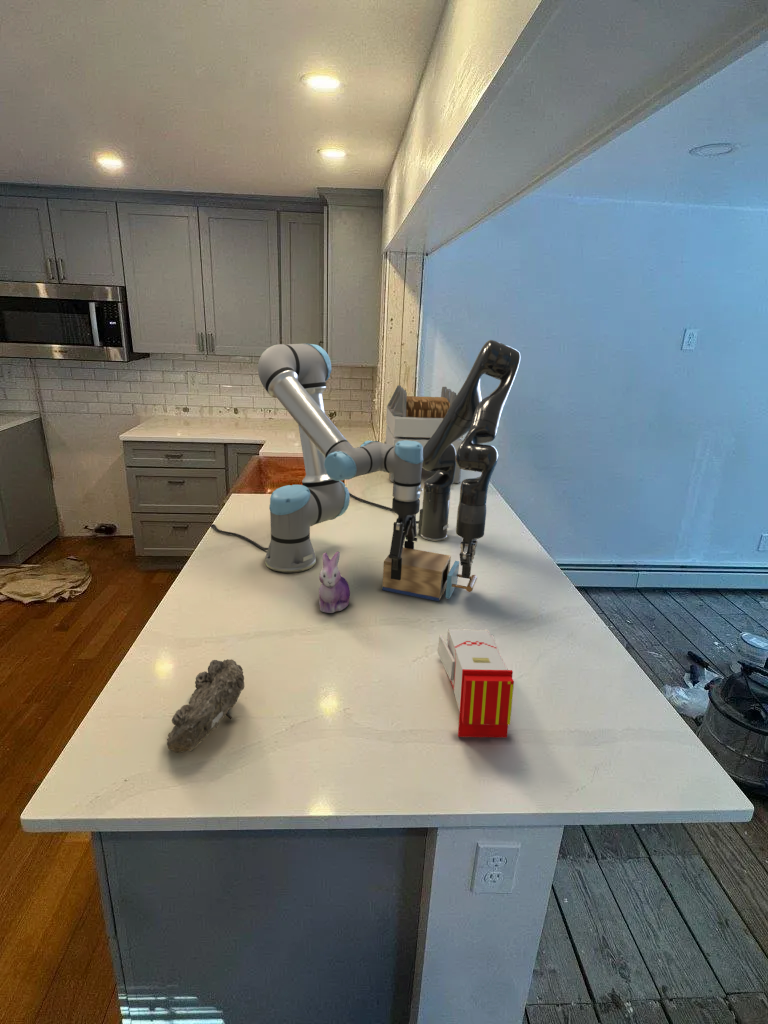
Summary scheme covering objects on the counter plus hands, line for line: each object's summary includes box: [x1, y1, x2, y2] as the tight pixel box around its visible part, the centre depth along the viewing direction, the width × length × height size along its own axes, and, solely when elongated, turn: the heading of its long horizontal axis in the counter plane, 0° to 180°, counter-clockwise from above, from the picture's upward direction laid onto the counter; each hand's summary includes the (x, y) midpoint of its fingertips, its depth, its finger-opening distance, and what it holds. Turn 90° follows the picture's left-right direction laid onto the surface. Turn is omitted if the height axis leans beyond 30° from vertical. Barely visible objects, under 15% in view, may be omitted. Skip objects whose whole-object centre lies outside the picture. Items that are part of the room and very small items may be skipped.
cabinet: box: [381, 546, 452, 602], centre depth 161 cm, size 16×11×9 cm
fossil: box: [166, 658, 245, 754], centre depth 106 cm, size 22×10×15 cm
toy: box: [437, 628, 515, 738], centre depth 117 cm, size 12×13×30 cm
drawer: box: [441, 560, 478, 600], centre depth 159 cm, size 21×10×7 cm, turn 71°
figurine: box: [318, 551, 351, 614], centre depth 147 cm, size 9×10×15 cm
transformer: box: [383, 384, 464, 484], centre depth 268 cm, size 34×33×41 cm
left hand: (402, 570), depth 162 cm, fingers closed on cabinet, 11 cm apart
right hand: (465, 576), depth 156 cm, fingers closed
